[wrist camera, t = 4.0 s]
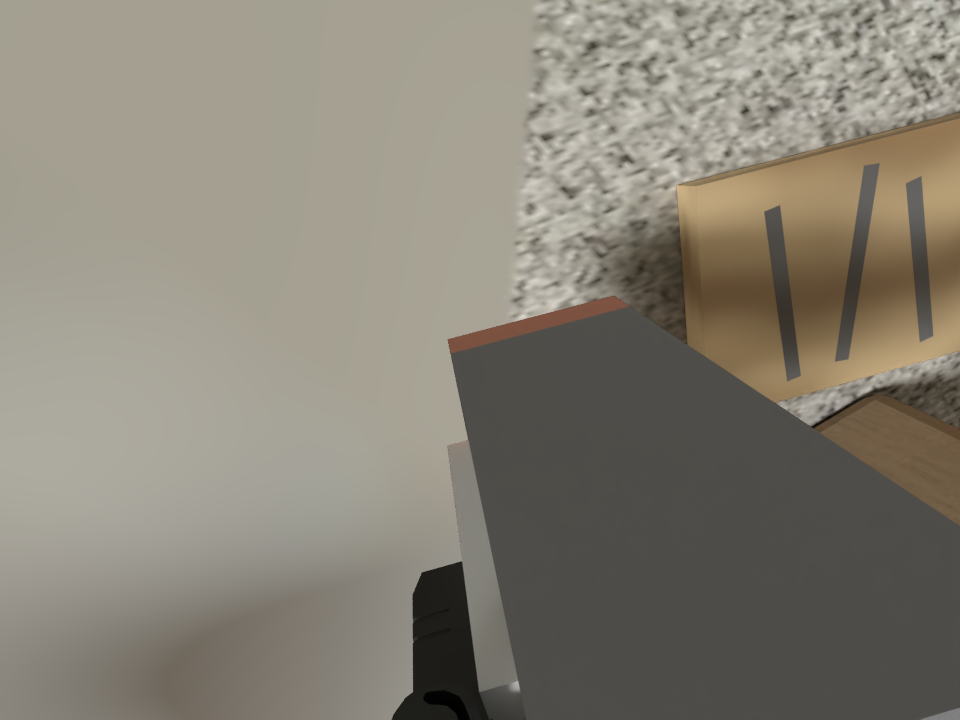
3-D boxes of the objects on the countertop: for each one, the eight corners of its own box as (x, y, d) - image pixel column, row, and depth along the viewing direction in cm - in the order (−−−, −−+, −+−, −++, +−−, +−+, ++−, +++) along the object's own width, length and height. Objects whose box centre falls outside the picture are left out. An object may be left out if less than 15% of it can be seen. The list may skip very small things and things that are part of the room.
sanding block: (447, 339, 12) (549, 832, 3) (613, 295, 13) (1146, 650, 3) (508, 562, 16) (646, 1125, 7) (640, 525, 16) (956, 1026, 7)
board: (676, 185, 21) (696, 186, 19) (979, 107, 21) (1019, 102, 20) (691, 407, 25) (708, 421, 23) (944, 337, 25) (975, 346, 24)
